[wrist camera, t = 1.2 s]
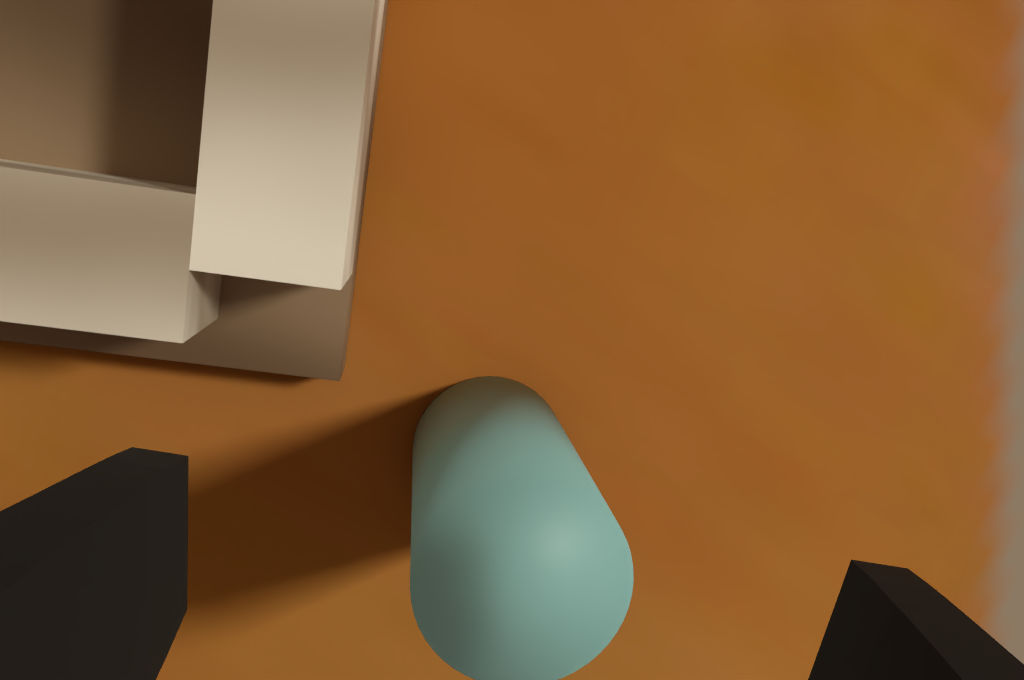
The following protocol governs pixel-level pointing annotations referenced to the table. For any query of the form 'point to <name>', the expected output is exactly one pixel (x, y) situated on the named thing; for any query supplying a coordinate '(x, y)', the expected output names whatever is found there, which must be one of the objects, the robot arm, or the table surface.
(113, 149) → the socket board
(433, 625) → the peg
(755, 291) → the table surface
